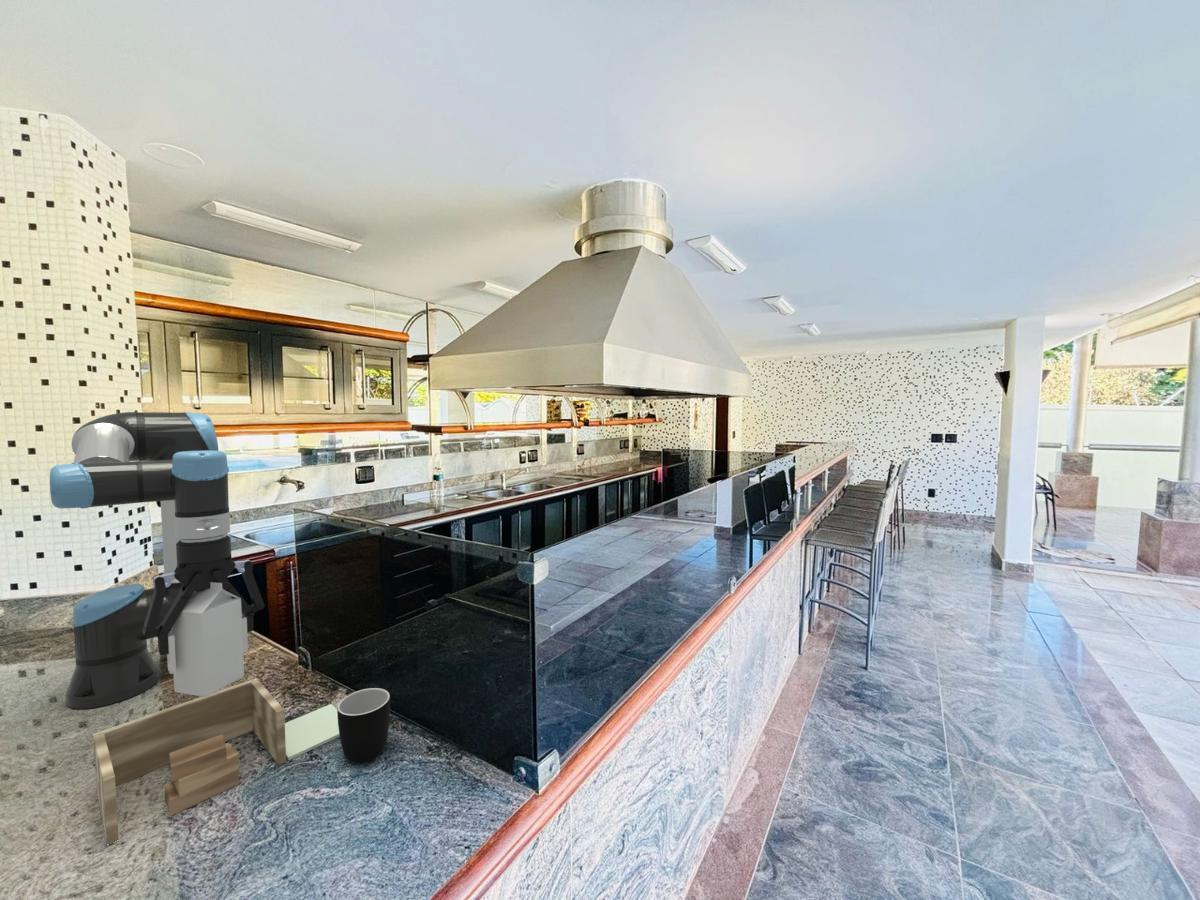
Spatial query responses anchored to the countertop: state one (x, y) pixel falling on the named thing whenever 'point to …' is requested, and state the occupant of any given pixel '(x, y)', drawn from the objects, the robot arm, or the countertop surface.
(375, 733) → the mug
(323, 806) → the countertop surface
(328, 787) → the countertop surface
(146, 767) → the frame
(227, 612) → the milk carton
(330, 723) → the mat
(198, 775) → the offcut stack
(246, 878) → the countertop surface
